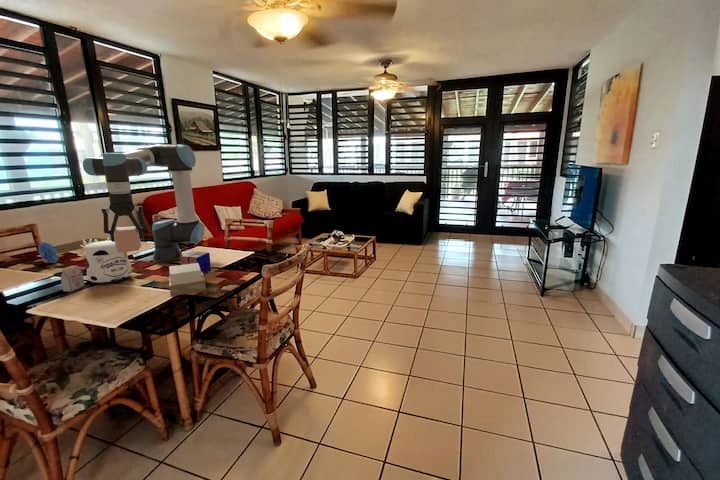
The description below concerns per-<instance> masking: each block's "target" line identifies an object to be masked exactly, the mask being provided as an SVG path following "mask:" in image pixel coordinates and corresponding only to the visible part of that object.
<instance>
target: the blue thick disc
mask: <svg viewBox="0 0 720 480" xmlns="http://www.w3.org/2000/svg"><path fill="white" fill-rule="evenodd" d="M53 247H54V245H53V244H51V243H48V242H45V241H42V242H41V243H40V244H39V245H38V247H37V248H38V253H39V256H40V257H41V259H42V260H45V261H46V263H48V264H56V263H57V262H58V259H59V255H58V254H57V253H58V250H57V249H56V248H53Z"/></svg>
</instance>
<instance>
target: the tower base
mask: <svg viewBox="0 0 720 480" xmlns="http://www.w3.org/2000/svg"><path fill="white" fill-rule="evenodd" d="M201 277H202V281H197V282H190V283H184V284H177V285H171V279H170V275H169V276H168V279H169V280H168V283H169V287H168V288H169V293H170V297H175V296H180V295H187V294H194V293H200V292H205V291H207V286H206V279H205V275H204V274H203V272H201Z"/></svg>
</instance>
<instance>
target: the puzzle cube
mask: <svg viewBox="0 0 720 480" xmlns="http://www.w3.org/2000/svg"><path fill="white" fill-rule="evenodd" d="M210 255H211V254H210V252H206V251H204V252H203V251H194V250H193V251H190V252H188V253H186V254H182V256H180V261H179V262H180V265H186V264H193V263H198V264H199V267H200V269H201V272H203V275H205V274H207V273H209V272H210V271H211V272H212V267H211V265H212V264H211V256H210Z"/></svg>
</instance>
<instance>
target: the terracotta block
mask: <svg viewBox="0 0 720 480" xmlns="http://www.w3.org/2000/svg"><path fill="white" fill-rule="evenodd" d="M137 231H138V230H137V228H136V227H135V225H133V226H132V225H131V226H120V227H119V226H118V227H117V226H116V228H115V230H114V233H115V238H116V244H117V250H118V253H119V252H127V253H128V252H137V251H139V250H140V248H139V246H138V240H137V233H136V232H137Z"/></svg>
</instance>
